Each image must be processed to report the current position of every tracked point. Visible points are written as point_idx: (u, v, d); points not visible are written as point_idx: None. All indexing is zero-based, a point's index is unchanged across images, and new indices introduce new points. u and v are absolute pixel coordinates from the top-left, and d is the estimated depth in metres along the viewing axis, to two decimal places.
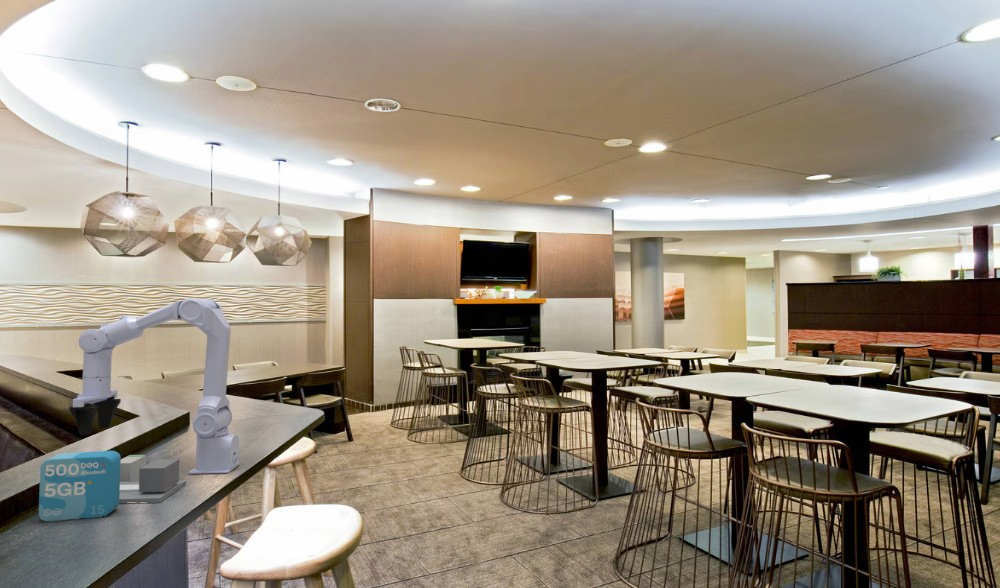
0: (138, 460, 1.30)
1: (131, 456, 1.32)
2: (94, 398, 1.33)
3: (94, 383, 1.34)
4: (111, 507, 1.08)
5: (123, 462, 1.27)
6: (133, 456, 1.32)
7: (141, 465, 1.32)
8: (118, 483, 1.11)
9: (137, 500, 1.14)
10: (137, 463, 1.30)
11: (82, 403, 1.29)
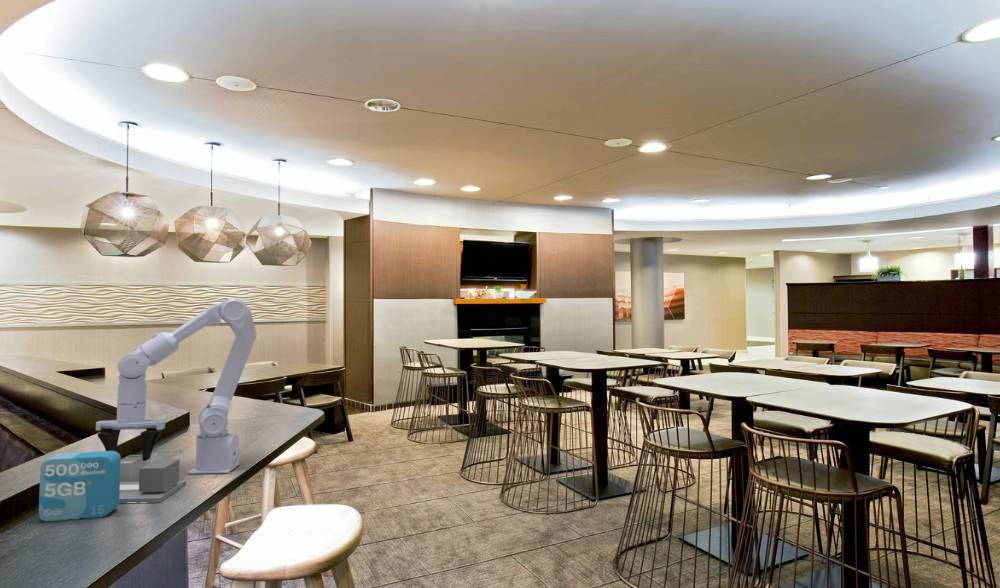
0: (138, 460, 1.30)
1: (131, 456, 1.32)
2: (109, 424, 1.28)
3: (117, 409, 1.29)
4: (111, 507, 1.08)
5: (123, 462, 1.27)
6: (133, 456, 1.32)
7: (141, 465, 1.32)
8: (118, 483, 1.11)
9: (137, 500, 1.14)
10: (137, 463, 1.30)
11: (97, 426, 1.29)
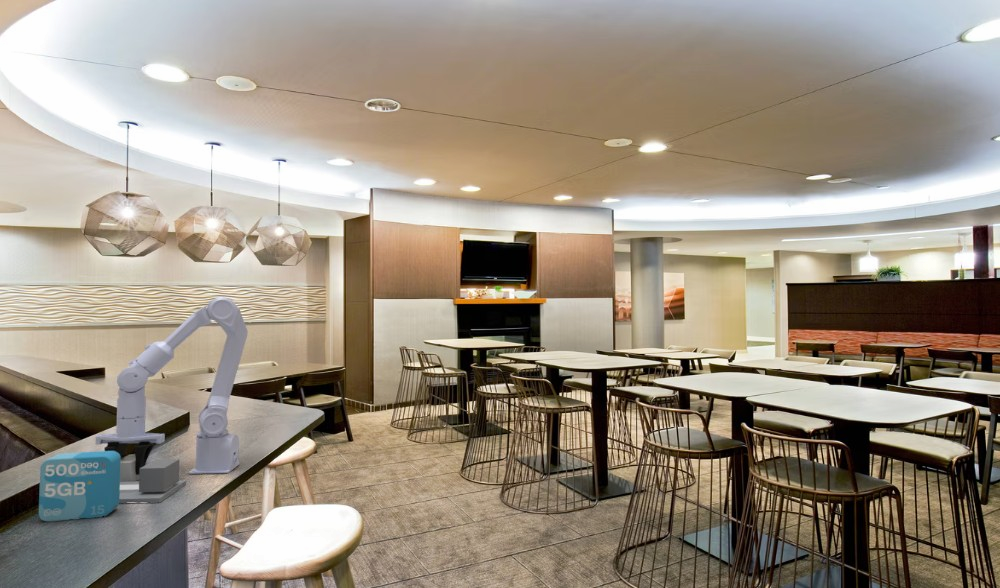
0: None
1: (131, 455, 1.32)
2: (108, 438, 1.28)
3: None
4: (111, 507, 1.08)
5: (123, 461, 1.27)
6: (133, 455, 1.32)
7: None
8: (118, 483, 1.11)
9: (137, 500, 1.14)
10: None
11: (96, 440, 1.29)
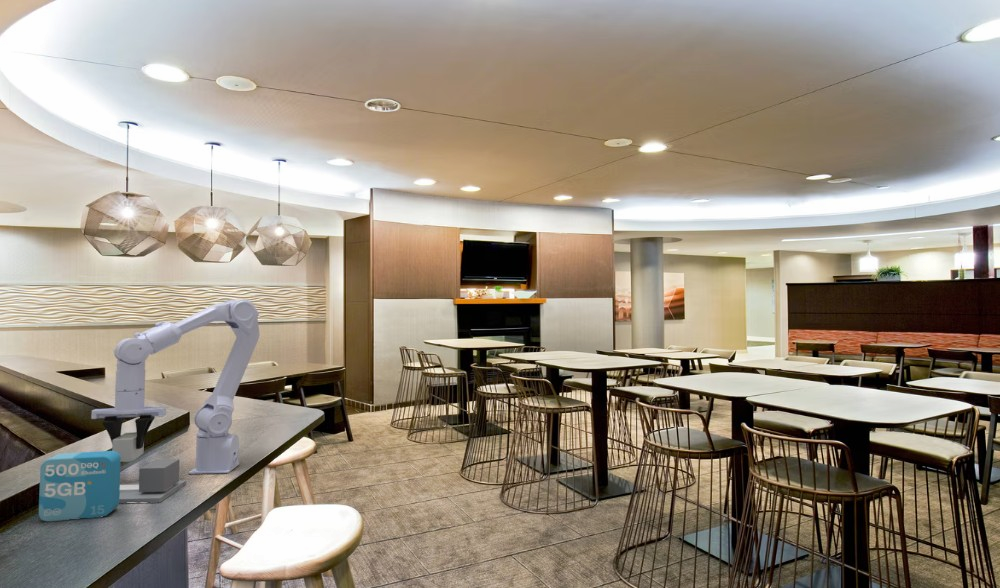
0: None
1: (128, 433, 1.28)
2: (107, 412, 1.24)
3: (115, 396, 1.25)
4: (111, 507, 1.08)
5: (124, 438, 1.24)
6: (130, 433, 1.29)
7: None
8: (118, 483, 1.11)
9: (137, 500, 1.14)
10: None
11: (92, 415, 1.24)
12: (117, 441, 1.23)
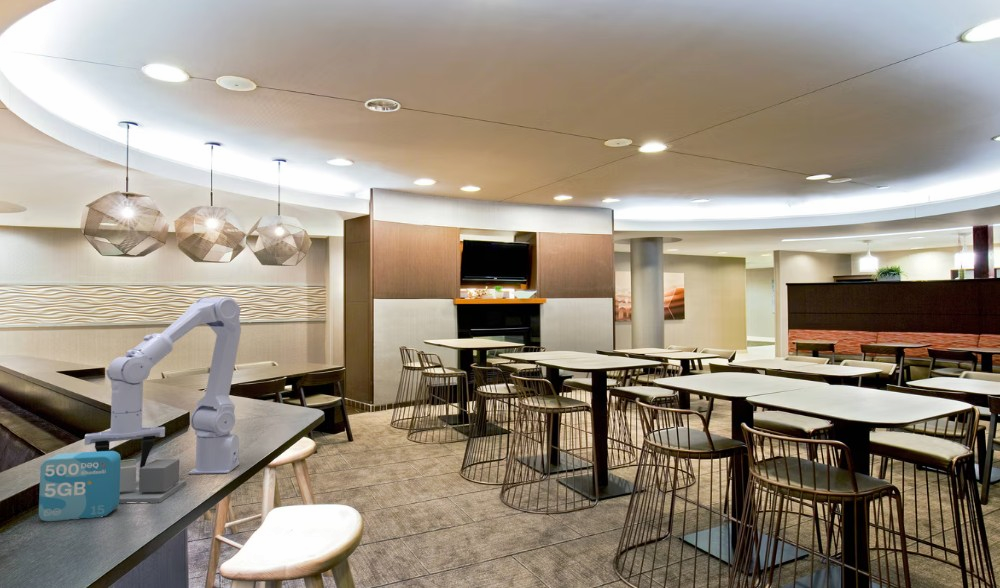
0: None
1: None
2: (104, 436, 1.16)
3: (112, 419, 1.18)
4: (111, 507, 1.08)
5: (125, 467, 1.18)
6: (123, 461, 1.22)
7: None
8: (118, 483, 1.11)
9: (137, 500, 1.14)
10: None
11: (86, 440, 1.15)
12: None
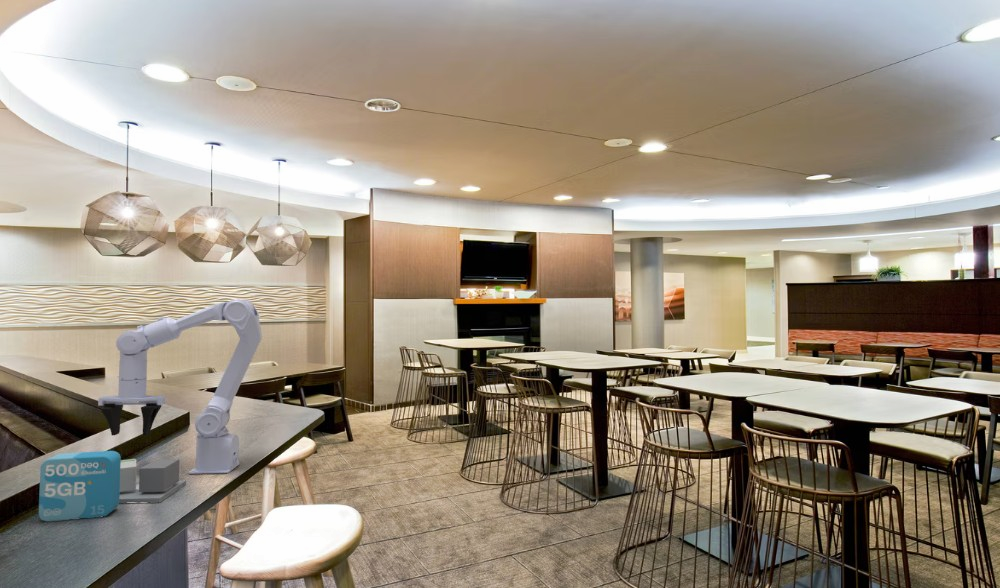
0: None
1: None
2: (111, 399, 1.32)
3: None
4: (111, 507, 1.08)
5: (125, 467, 1.18)
6: (123, 461, 1.22)
7: None
8: (118, 483, 1.11)
9: (137, 500, 1.14)
10: None
11: (99, 402, 1.33)
12: None
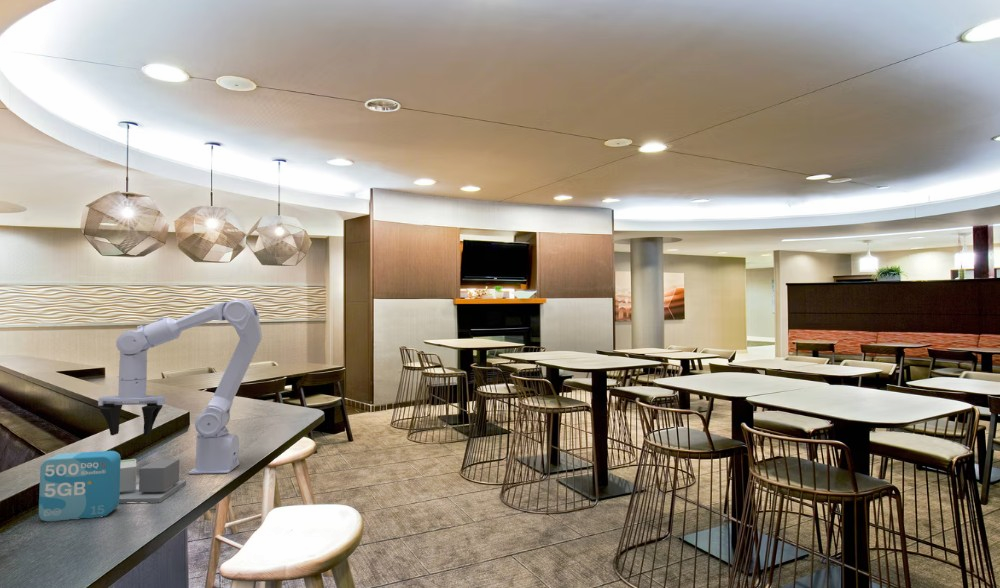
0: None
1: None
2: (111, 399, 1.32)
3: None
4: (111, 507, 1.08)
5: (125, 467, 1.18)
6: (123, 461, 1.22)
7: None
8: (118, 483, 1.11)
9: (137, 500, 1.14)
10: None
11: (99, 402, 1.33)
12: None
